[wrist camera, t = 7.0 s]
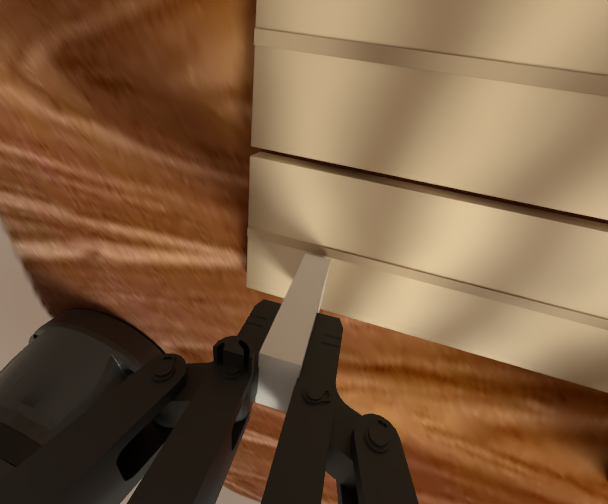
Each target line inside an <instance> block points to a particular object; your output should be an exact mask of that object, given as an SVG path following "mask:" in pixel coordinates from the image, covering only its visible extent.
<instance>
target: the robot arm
mask: <svg viewBox="0 0 608 504" xmlns="http://www.w3.org/2000/svg"><path fill="white" fill-rule="evenodd" d="M330 262H331V259H327V258H323V257H318V256H314V255H310V254H306V253H305V255H304V257H303V259H302V261H301V264H300V266H299V268H298V270H297V272H296V274H295V277H294V279H293V281H292V283H291V285H290V287H289V289H288V292H287V294H286V296H285V298H284V300H283V302H282V304H280V303H276V302H272V301H269V300H265V299H264V300H262V301H261V302H259V303H258V304H257V305H255V307H254V308H253V310H252V312H251V313H250V316H249V317H248V318H247V320H246V323H245V324H244V325H243V327H242V329H241V330H240V332H239V334H238V335H237V336H229V337H225V338H223V339H221V340H219V341H218V342H217V343H216V344H215V345H214V346H213V355H214V361H213V362H210V363H192V364H186V362H185V360H184V359H183V358H182V357H181V356H180V355H177V354H163V353H162V352H161V351H160V350H159V349H158V348H157V347H156V346H155V345H154V344H153V343H151V342H150V341H149V340H148V339H147V338H145V337H144V336H143V335H141V334H140V333H139V332H137V331H136V330H134V329H133V328H131V327H130V326H128V325H126V324H124V323H123V322H121V321H119V320H117V319H115V318H113V317H110V316H108V315H105V314H103V313H99V312H96V311H92V310H87V309H71V310H67V311H64V312H63V313H61V314H60V315H58V316H57V317H55V318H53V319H52V320H50V321H49V322H47V323H46V324H44V325H43V326H41V327H40V328H39V329H38V330H37V331H36V332H35V333H34V334H33V335H32V336H31V338H30V340H29V344H28V345H27V346H26V347H25V348H24V349H23V350H22V351H21V352H20V353H18V355H16V356H15V357H14V358H13V359H12V360H11V361H10V362H9V363H8V364H7V366H6V367H5V368H3V370H2V371H1V372H0V504H120V503H121V502H122V501H123V499H124V498H125V497H126V496H127V495H128V494H129V492H130V491H131V490H132V489H133V488H134V486H136V485H137V483H138V482H139V481H140V480H141V479H142V480H141V482H140V483H139V485H138V486H137V488H136V490H135V491H134V493H133V494H132V496H131V498H130V499H129V501H128V503H127V504H215V503H216V500H217V498H218V496H219V493H220V491H221V488H222V486H223V483H224V481H225V478H226V476H227V473H228V471H229V468H230V466H231V463H232V461H233V458H234V456H235V453H236V451H237V448H238V446H239V443H240V441H241V438H242V436H243V433H244V431H245V428H246V426H247V423H248V421H249V418H250V413H251V407H252V404H253V402H254V399H255V397H256V401H255V402H256V403H259V404H262V405H265V406H269V407H271V408H275V409H278V410H281V411H284V412H287V413H286V417H285V420H284V424H283V427H282V431H281V434H280V438H279V441H278V445H277V449H276V452H275V456H274V459H273V463H272V466H271V470H270V473H269V477H268V480H267V484H266V487H265V491H264V494H263V498H262V501H261V504H321V499H322V492H323V484H324V477H325V471H326V472H327V473H328V474H330V475H331V476H332V477H333V478H335V479H336V483H337V494H338V504H419V503H418V500H417V496H416V493H415V489H414V486H413V482H412V479H411V475H410V472H409V468H408V465H407V462H406V458H405V455H404V451H403V448H402V444H401V441H400V438H399V436H398V433H397V431H396V429H395V428H394V427H393V426H392V424H391V423H390V422H389V421H388V420H386V419H385V418H383V417H382V416H380V415H376V414H366V415H363V416H362V415H360V414H359V413H357V412H356V411H354V410H353V409H351V408H350V407H349V406H348V405H346V404H345V403H344V402H343V400H342V399H341V398H340V396H339V394H338V392H337V389H336V374H337V367H338V360H339V353H340V346H341V339H342V333H343V327H342V324H341V321H340V319H339V318H336V317H332V316H328V315H324V314H320V313H319V310H320V306H321V302H322V298H323V294H324V289H325V285H326V280H327V276H328V271H329V267H330ZM143 476H144V477H143Z"/></svg>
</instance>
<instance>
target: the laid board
mask: <svg viewBox="0 0 608 504" xmlns="http://www.w3.org/2000/svg"><path fill="white" fill-rule="evenodd" d="M254 45H255V54H254V80H253V105H252V131H251V146H252V147H257V148H262V149H267V150H272V151H276V152H281V153H286V154H291V155H296V156H301V157H305V158H310V159H315V160H320V161H325V162H330V163H334V164H339V165H344V166H349V167H354V168H359V169H363V170H368V171H373V172H378V173H383V174H388V175H392V176H397V177H402V178H407V179H412V180H416V181H421V182H426V183H431V184H436V185H441V186H445V187H450V188H455V189H460V190H465V191H470V192H474V193H479V194H484V195H489V196H494V197H499V198H503V199H508V200H513V201H518V202H523V203H528V204H532V205H537V206H542V207H547V208H552V209H557V210H561V211H566V212H571V213H576V214H581V215H586V216H590V217H595V218H600V219H605V220H608V0H257V3H256V29H255V28H254Z"/></svg>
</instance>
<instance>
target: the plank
mask: <svg viewBox="0 0 608 504" xmlns="http://www.w3.org/2000/svg"><path fill="white" fill-rule="evenodd" d="M247 236H248V251H247V287H248V288H251V289H255V290H258V291H261V292H265V293H268V294H272V295H275V296H278V297H282V298H285V296H286V294H287V292H288V289H289V287H290V285H291V283H292V281H293V279H294V277H295V274H296V272H297V270H298V268H299V266H300V264H301V261H302V259H303V257H304V255H305V253H306V254H310V255H314V256H318V257H323V258H327V259H331V262H330V267H329V271H328V276H327V280H326V285H325V289H324V294H323V298H322V302H321V306H320V309H323V310H326V311H330V312H333V313H337V314H340V315H343V316H347V317H350V318H354V319H357V320H361V321H364V322H367V323H371V324H374V325H378V326H381V327H384V328H388V329H391V330H395V331H398V332H402V333H405V334H408V335H412V336H415V337H419V338H422V339H425V340H429V341H432V342H436V343H439V344H443V345H446V346H449V347H453V348H456V349H460V350H463V351H466V352H470V353H473V354H477V355H480V356H484V357H487V358H490V359H494V360H497V361H501V362H504V363H507V364H511V365H514V366H518V367H521V368H525V369H528V370H531V371H535V372H538V373H542V374H545V375H548V376H552V377H555V378H559V379H562V380H566V381H569V382H572V383H576V384H579V385H583V386H586V387H590V388H593V389H596V390H600V391H603V392H607V393H608V224H605V223H600V222H595V221H591V220H586V219H581V218H576V217H572V216H567V215H562V214H557V213H552V212H548V211H543V210H538V209H533V208H529V207H524V206H519V205H514V204H509V203H505V202H500V201H495V200H490V199H485V198H481V197H476V196H471V195H466V194H462V193H457V192H452V191H447V190H442V189H438V188H433V187H428V186H423V185H418V184H414V183H409V182H404V181H399V180H395V179H390V178H385V177H380V176H375V175H371V174H366V173H361V172H356V171H352V170H347V169H342V168H337V167H332V166H328V165H323V164H318V163H313V162H308V161H304V160H299V159H294V158H289V157H285V156H280V155H275V154H270V153H265V152H261V151H260V152H258V153H256V154H254V155H251V156H250V177H249V214H248V228H247Z"/></svg>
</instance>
